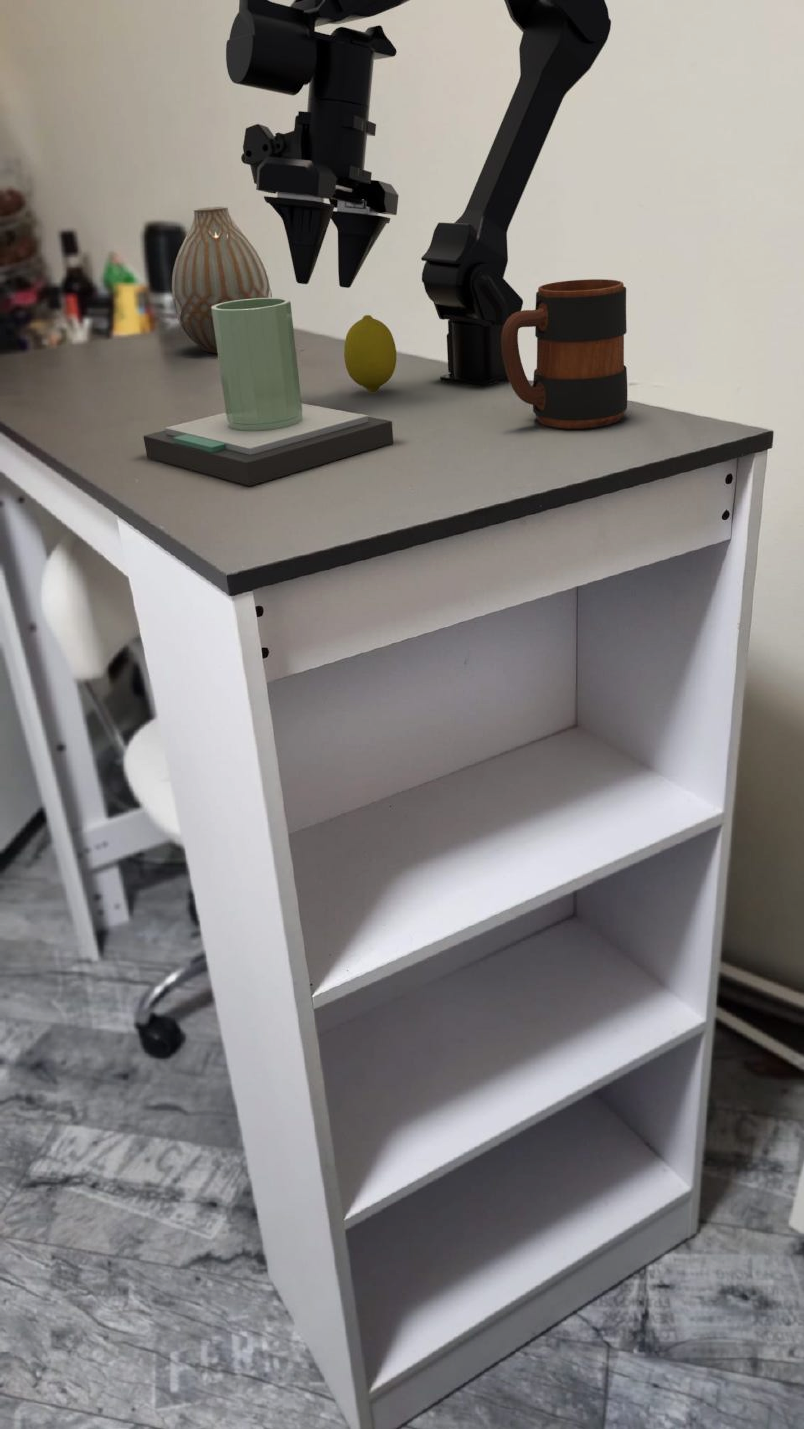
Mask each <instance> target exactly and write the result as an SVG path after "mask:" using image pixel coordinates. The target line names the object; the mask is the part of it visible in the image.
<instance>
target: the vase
mask: <svg viewBox="0 0 804 1429" xmlns="http://www.w3.org/2000/svg"><path fill="white" fill-rule="evenodd" d="M171 295H172V296H171V297H172V302H173V303H172V304H173V308H174V311H175V315H176V317H177V319H178V322H179V325H180V326H181V328H182V330H183V331H184V332H185V334H186V336H188V338H189V339H190V340H191V341H193V343H195V344H196V345H197V346H198V347H199V348H200V349H202V350H203V351H204V352H206V353H211V354H218V352H217V345H216V338H215V331H214V324H213V317H212V310H211V307H212V306H214V305H216V304H220V303H224V302H229V301H236V300H243V299H254V298H273V291H272V284H271V279H270V275H269V272H268V269H267V267H266V265H265V262H264V260H263V257H261V255H260V253H259V251H258V249H257V248H256V247H255V245H254V244H253V243H252V241H251V240H250V239H249V238H248V237H247V235H245V233H244V232H243V231H242V230H241V229H240V227H239V226H238V225H237V224H236V223H235V221H234V219H233V218H232V216H231V214H230V210H229V207H228V206H210V207H209V206H208V207H200V208H194V209H193V219H192V223H191V226H190V229H189V230H188V232H187V234H186V236H185V238H184V240H183V242H182V244H181V246H180V247H179V250H178V252H177V256H176V258H175V261H174V265H173V269H172V276H171Z"/></svg>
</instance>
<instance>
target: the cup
mask: <svg viewBox="0 0 804 1429" xmlns="http://www.w3.org/2000/svg"><path fill="white" fill-rule="evenodd" d="M211 310H212V317H213V324H214V331H215V338H216V345H217V352H218V353H217V358H218V365H219V373H220V380H221V387H222V393H223V401H224V407H225V408H224V409H225V413H226V416H227V422H228V426H229V427H230V428H232V429H235V430H241V431H264V430H273V429H279V428H284V427H288V426H291V425H294V424H297V423H299V422H300V421H301V420H302V419H303V416H302V396H301V395H302V394H301V386H300V377H299V368H298V366H299V365H298V359H297V358H298V357H297V350H296V338H295V331H294V330H295V329H294V321H293V311H292V303H291V300H290V299H289V298H284V297H272V298H254V299H243V300H236V301H229V302H224V303H220V304H216V305H214V306H212V307H211Z"/></svg>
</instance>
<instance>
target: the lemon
mask: <svg viewBox="0 0 804 1429" xmlns="http://www.w3.org/2000/svg"><path fill="white" fill-rule="evenodd" d="M396 347H397V346H396V342H395V339H394V336H393V334H392V332H391V330H390V329H389V327H388V326H387V325H386V324H384V322H382V321H380V320H379V319H377V318H374V317H373V316H372V315H370V314H365V315H363V316H362V318H361V319H360V320H357V321H356V322H355V323H354V324H352V326H350V328H349V330H348V331H347V333H346V336H345V340H344V346H343V348H344V349H343V358H344V363H345V368H346V371H347V373H348V376H349V377H350V379H352V380H353V381H354V382H355V383H356V384H357V385H359V386H360V387H363V388H365V389H366V391H368V392H369V393H370V394H375V393H377V392H378V390H380V387H382V386H383V385H385V384H387V382H389V381H390V379H391V378H392V376H393V374H394V372H395V370H396V365H397V348H396Z"/></svg>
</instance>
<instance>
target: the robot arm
mask: <svg viewBox="0 0 804 1429" xmlns="http://www.w3.org/2000/svg"><path fill="white" fill-rule="evenodd" d="M409 1H410V0H293V1H292V3H291V4H290V5H289V6H288V5H286V4H281V3H277V2H274V1H271V0H239V1H238V12H237V14H236V16H235V17H234V19H233V22H232V25H231V29H230V33H229V39H227V40H226V44H225V47H226V48H225V62H226V69H227V74H228V77H229V79H230V80H231V82H232V83H233V84H235V85H240V86H245V87H249V88H255V89H258V90H259V89H260V90H265V91H269V92H273V93H279V94H283V95H288V96H297V94H299V93H300V91H302V90H303V87H304V86H308V95H307V109H306V111H304V110H303V111H301V110H298V113H297V115H295V118H294V127H293V130H291V131H289V132H286V133H282V132H279V131H278V132H276V133H275V135H274V134H273V132H272V131H271V129H270V128H269V127H268V126H266V125H263V124H260V123H255V124H253V125H251V126H248V127H246V128H245V131H244V138H243V143H242V151H243V153H242V154H241V157H240V160H241V162H242V163H243V164H244V165H249V167H250V171H251V176H252V180H253V183H254V184H255V185H256V187H255V188H256V190H255V191H259V192H263V193H268V194H274V195H275V194H276V196H267V195H264V196H263V199H264V202H265V203H266V204H269V205H270V207H272V208H273V209H274V211H275V212H276V213H277V215H278V216H279V217H280V218H281V220H282V223H283V226H284V231H285V234H286V239H287V243H288V248H289V252H290V257H291V262H292V267H293V273H294V277H295V282H296V283H297V284H299V285H300V284H301V285H308V284H309V282H310V280H311V278H312V276H313V272H314V270H315V267H316V265H317V261H318V258H319V256H320V252H321V248H322V245H323V243H324V240H325V236H326V234H327V232H328V228H329V225H330V223H331V222H330V221H332V223H333V224H334V226H335V227H336V229H337V272H338V284H339V287H340V288H345V289H349V288H351V287H352V285H353V283H354V282H355V279H356V278H357V276H358V274H359V272H360V270H361V269H362V267H363V265H364V263H365V261H366V259H367V257H368V255H369V253H370V252H371V250H372V248H373V247H374V245H375V243H376V241H377V240H378V238H379V237H380V235H381V233H382V231H383V230H384V228H385V227H386V225H387V224H390V222H391V217H387V216H382V215H390V216H397V215H398V205H399V193H398V192H397V190H396V189H395V188H394V186H393V185H392V183H391V184H390V183H388V182H384V181H382V180H381V181H380V180H377V179H376V180H375V179H372V175H373V173H372V171H369V170H365V163H366V153H367V152H366V151H367V142H368V137H369V136H370V137H376V129H377V123H374V122H372V121H369V120H370V109H371V108H370V107H371V97H372V84H373V74H374V64H375V63H374V62H375V60H382V59H388V58H394V57H396V56H397V49H396V47H395V46H394V44H393V42H391V40H390V39H389V38H388V37H387V35H386V33H385V32H384V29H383V26H382V25H374V26H368V27H367V28H366V30H365V31H361V30H357V29H354V28H353V29H352V28H349V27H346V26H338V27H336V28H335V29H334V30H333V31H332V32H331V33H330V34H328V33H323V32H320V31H316V28H317V27H322V26H326V25H341V24H345V23H351V22H354V21H358V20H363V19H367V18H371V17H374V16H378V15H379V14H383V13H385V12H387V11H390V10H392V9H395V8H397V7H399V6H401V5H404V4H405V3H407V2H409ZM504 3H505V7H506V9H507V12H508V15H509V17H510V19H511V21H512V22H513V23H514V24H515V26H516V27H517V28H518V29H519V30H520V31H521V32H522V35H521V39H520V43H519V47H518V50H519V51H518V52H519V53H518V56H519V70H520V74H519V79H518V81H517V84H516V87H515V89H514V92H513V94H512V97H511V99H510V101H509V103H508V106H507V108H506V111H505V113H504V116H503V118H502V121H501V123H500V125H499V128H498V130H497V133H496V135H495V137H494V139H493V142H492V144H491V147H490V149H489V152H488V154H487V156H486V158H485V161H484V164H483V166H482V169H481V171H480V174H479V175H478V177H477V181H476V183H475V186H474V187H473V190H472V192H471V195H470V197H469V200H468V202H467V205H466V207H465V209H464V211H463V213H462V215H461V216H460V217H458V218H457V220H456V221H454V222H438V223H437V224H436V226H435V228H434V230H433V233H432V238H431V241H430V244H429V246H428V248H427V250H426V252H425V253H424V254H423V255H422V256H421V257H420V260H421V261H422V262H425V263H424V265H423V268H422V273H421V282H422V283H423V287H424V290H425V293H426V295H427V297H428V298H429V300H431V302H432V303H433V305H434V308H435V311H436V313H437V316H438V319H439V320H447V332H448V333H447V334H446V351H447V353H446V354H447V371H448V373H447V374H442V375H440V376H439V380H440V381H442V382H447V383H456V384H463V385H468V386H469V385H470V386H476V387H484V386H488V385H492V384H495V383H498V382H502V381H506V380H509V379H508V376H507V373H506V370H505V366H504V361H503V356H502V346H501V338H502V331H503V327H504V324H505V322H506V321H507V319H508V318H509V317H510V316H511V315H512V314H514V313H516V312H519V311H522V308H523V305H524V300H523V298H522V297H521V296H520V295H519V294H518V292H517V291H515V289H514V288H513V287H512V285H511V284H509V282H508V281H507V280H506V279H504V277H505V274H506V270H507V266H508V264H509V254H508V230H509V228H510V225H511V222H512V220H513V218H514V215H515V213H516V211H517V209H518V207H519V204H520V201H521V199H522V197H523V195H524V192H525V190H526V187H527V185H528V183H529V180H530V178H531V175H532V173H533V171H534V169H535V166H536V163H537V161H538V159H539V157H540V155H541V152H542V150H543V147H544V145H545V143H546V141H547V138H548V135H549V134H550V131H551V128H552V126H553V123H554V121H555V119H556V117H557V114H558V112H559V109H560V107H561V105H562V102H563V100H564V99H565V97H566V95H567V93H568V92H569V91H570V90H572V88H573V87H574V86H575V85H576V84H577V83H578V82H579V81H580V80H581V79H582V78H583V77H584V76H585V75H586V74H587V73H588V72H589V71H590V70H591V68H592V66H593V65H594V63H595V61H596V60H597V59H598V57H599V55H600V53H601V52H602V50H603V48H604V46H605V45H606V43H607V41H608V39H609V36H610V32H611V29H612V28H611V27H612V20H611V18H610V14H609V9H608V8H609V7H608V6H607V4H606V0H504ZM325 199H326V200H328V202H329V203H328V202H325ZM334 209H336V210H334Z"/></svg>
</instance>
